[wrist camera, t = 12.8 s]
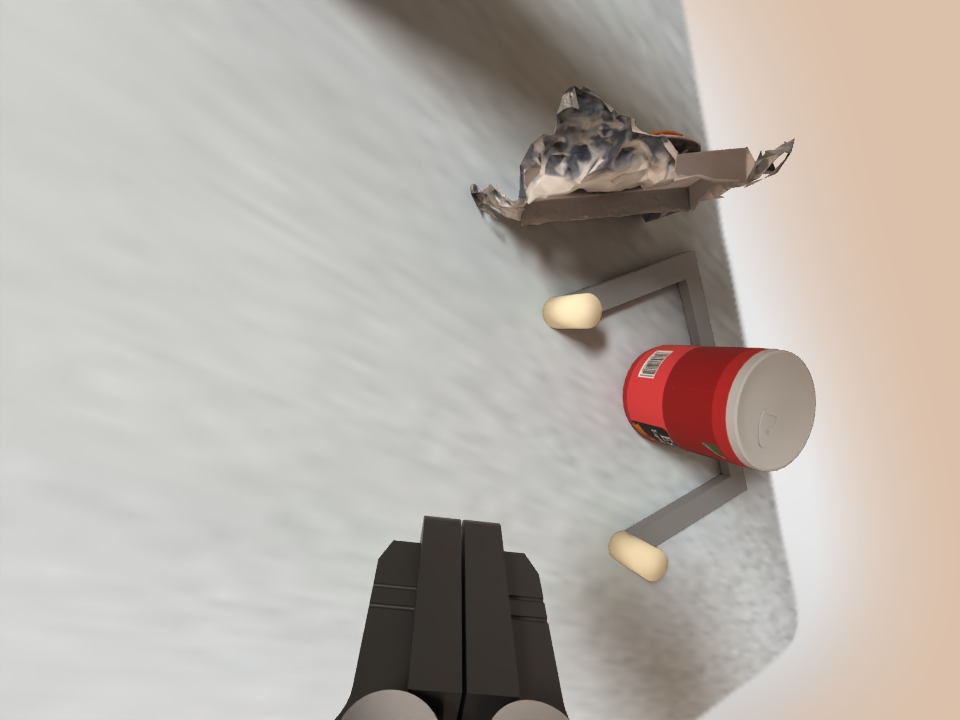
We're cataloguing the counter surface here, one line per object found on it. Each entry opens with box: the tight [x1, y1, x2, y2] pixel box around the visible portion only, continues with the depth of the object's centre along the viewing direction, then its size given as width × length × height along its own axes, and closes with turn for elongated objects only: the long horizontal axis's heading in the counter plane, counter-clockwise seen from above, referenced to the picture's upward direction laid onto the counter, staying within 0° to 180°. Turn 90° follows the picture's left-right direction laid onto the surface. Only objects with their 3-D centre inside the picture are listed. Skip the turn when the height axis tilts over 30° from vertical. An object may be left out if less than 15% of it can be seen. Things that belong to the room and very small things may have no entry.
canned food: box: [623, 345, 816, 471], centre depth 38 cm, size 8×8×11 cm
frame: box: [543, 251, 747, 581], centre depth 41 cm, size 22×15×4 cm, turn 19°
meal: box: [470, 86, 794, 226], centre depth 33 cm, size 15×4×13 cm, turn 96°
